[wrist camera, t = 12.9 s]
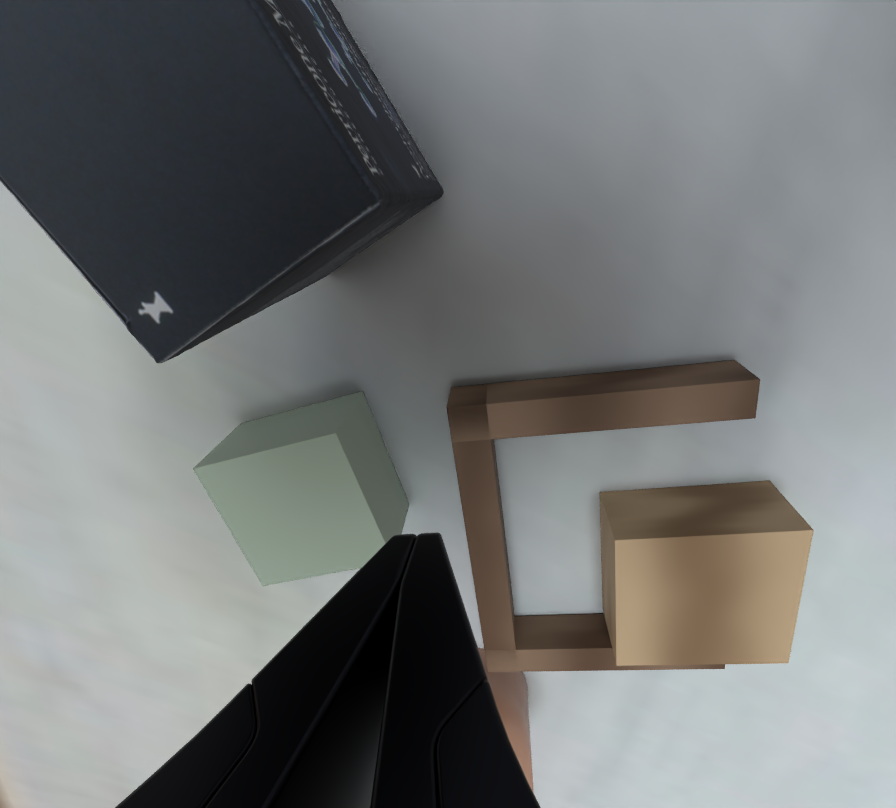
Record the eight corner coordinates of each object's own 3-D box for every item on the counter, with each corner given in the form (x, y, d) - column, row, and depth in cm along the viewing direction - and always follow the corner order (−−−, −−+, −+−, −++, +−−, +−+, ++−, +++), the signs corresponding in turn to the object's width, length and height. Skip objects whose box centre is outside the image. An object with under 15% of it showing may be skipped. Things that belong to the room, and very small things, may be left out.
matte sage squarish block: (363, 389, 21) (335, 433, 17) (409, 502, 23) (393, 561, 20) (242, 421, 22) (192, 468, 19) (297, 526, 24) (262, 586, 21)
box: (449, 192, 17) (389, 209, 8) (325, 277, 19) (151, 378, 9) (310, -46, 15) (-24, -446, 5) (183, 76, 17) (-245, -63, 7)
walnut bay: (734, 360, 19) (760, 379, 17) (707, 632, 25) (724, 668, 23) (451, 387, 20) (446, 407, 19) (488, 637, 26) (488, 671, 24)
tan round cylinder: (522, 645, 26) (529, 767, 21) (530, 718, 29) (538, 844, 23) (413, 648, 27) (392, 765, 22) (430, 718, 30) (414, 840, 24)
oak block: (766, 477, 21) (813, 530, 18) (750, 598, 24) (788, 663, 21) (598, 488, 22) (615, 540, 19) (601, 603, 25) (616, 665, 22)
